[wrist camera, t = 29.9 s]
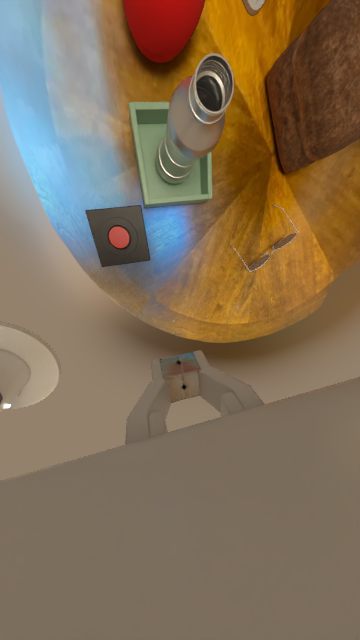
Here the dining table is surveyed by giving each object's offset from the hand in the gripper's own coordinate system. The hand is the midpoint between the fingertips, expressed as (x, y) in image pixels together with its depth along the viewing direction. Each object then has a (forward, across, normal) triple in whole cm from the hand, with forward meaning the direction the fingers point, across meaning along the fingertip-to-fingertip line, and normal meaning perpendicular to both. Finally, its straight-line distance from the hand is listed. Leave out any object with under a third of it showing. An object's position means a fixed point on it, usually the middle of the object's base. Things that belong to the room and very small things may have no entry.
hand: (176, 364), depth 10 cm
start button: (+31, +4, -7) cm, 32 cm away
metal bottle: (+34, -8, -18) cm, 39 cm away
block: (+34, +4, -7) cm, 35 cm away
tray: (+34, -8, -18) cm, 39 cm away
